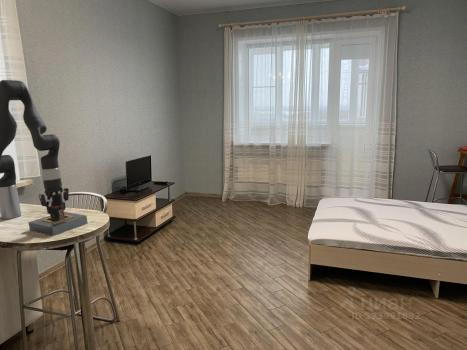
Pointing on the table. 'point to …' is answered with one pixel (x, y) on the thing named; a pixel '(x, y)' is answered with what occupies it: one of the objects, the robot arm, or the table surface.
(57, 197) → the deodorant
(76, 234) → the table surface
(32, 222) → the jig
